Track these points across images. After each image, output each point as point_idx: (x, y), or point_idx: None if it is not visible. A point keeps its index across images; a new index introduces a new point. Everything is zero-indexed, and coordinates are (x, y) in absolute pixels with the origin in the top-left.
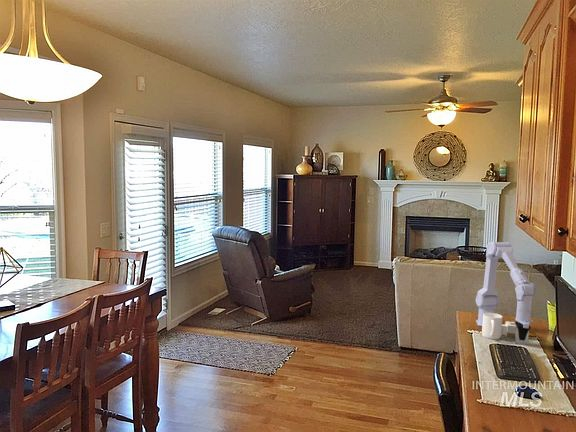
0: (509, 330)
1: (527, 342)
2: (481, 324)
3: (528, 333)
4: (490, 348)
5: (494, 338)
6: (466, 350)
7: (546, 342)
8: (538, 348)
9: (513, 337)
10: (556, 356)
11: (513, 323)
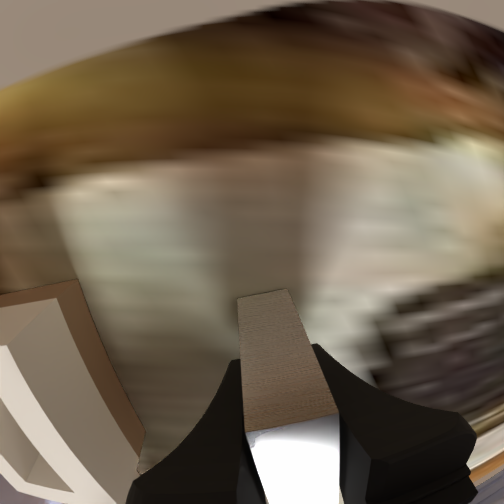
0: (127, 467)
1: (291, 303)
2: (51, 502)
3: (319, 367)
4: None
5: None
6: (472, 479)
7: (71, 100)
8: (350, 182)
9: (127, 398)
10: (474, 63)
11: (6, 456)
